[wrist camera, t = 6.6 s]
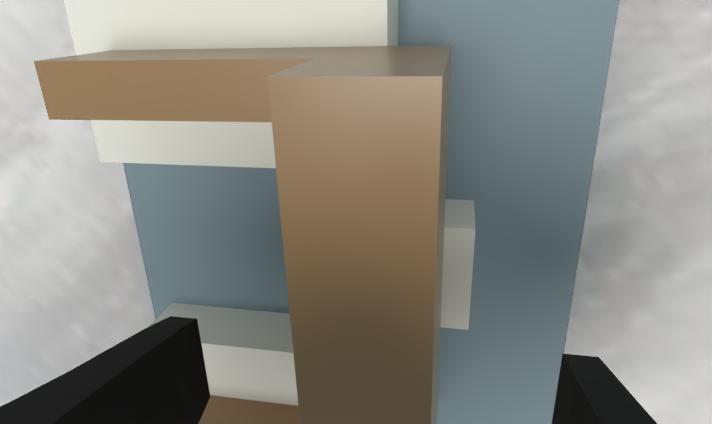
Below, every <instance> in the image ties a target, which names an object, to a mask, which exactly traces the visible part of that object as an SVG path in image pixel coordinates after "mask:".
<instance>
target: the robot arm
mask: <svg viewBox="0 0 712 424" xmlns="http://www.w3.org/2000/svg"><path fill="white" fill-rule="evenodd" d="M209 398H210V392H209V386H208V380H207V374H206V368H205V362H204V356H203V351H202V345H201V339H200V333H199V327H198V321H197V319H194V318H184V317H174V316H170V317H168V318H166V319H164V320H161V321H159V322H157V323H155V324H153V325H152V326H150V327H148V328H146V329H144V330H142V331H140V332H139V333H137V334H135V335H133V336H131V337H130V338H128V339H126V340H124V341H122V342H121V343H119V344H117V345H115V346H114V347H112V348H110V349H108V350H107V351H105V352H103V353H101V354H99V355H98V356H96V357H94V358H92V359H90V360H89V361H87V362H85V363H83V364H81V365H80V366H78V367H76V368H74V369H73V370H71V371H69V372H67V373H65V374H63V375H61V376H59V377H57V378H56V379H54V380H52V381H50V382H48V383H46V384H44V385H42V386H40V387H38V388H36V389H34V390H32V391H31V392H29V393H27V394H25V395H23V396H21V397H19V398H17V399H15V400H13V401H11V402H9V403H7V404H5V405H3V406H1V407H0V424H199V422H200V419H201V417H202V415H203V412H204V410H205V408H206V405H207V403H208V401H209ZM552 424H657V423H656V422H655V421H654V420H653V419H652V417H651V416H650V415H649V414H648V413H647V412H646V411H645V410H644V408H643V407H642V406H641V405H640V404H639V403H638V402H637V401H636V399H635V398H634V397H633V396H632V395H631V394H630V393H629V391H628V390H627V389H626V388H625V387H624V386H623V384H622V383H621V382H620V381H619V380H618V379H617V378H616V376H615V375H614V374H613V373H612V372H611V371H610V370H609V368H608V367H607V366H606V365H605V364H604V363H603V362H602V361H601V359H600V358H599V357H591V356H581V355H570V354H562V360H561V367H560V373H559V380H558V386H557V392H556V399H555V405H554V412H553V418H552Z"/></svg>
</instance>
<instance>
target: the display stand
mask: <svg viewBox="0 0 712 424" xmlns="http://www.w3.org/2000/svg"><path fill="white" fill-rule="evenodd" d="M64 4H65V9H66V13H67V18H68V22H69V26H70V31H71V35H72V40H73V44H74V48H75V53H76V55H82V54H89V53H96V52H103V51H110V50H167V49H230V48H293V47H355V46H418V45H452V47H451V73H450V98H449V123H448V149H447V174H446V200H445V225H444V250H443V276H442V301H441V327H440V352H439V377H438V403H437V424H552V418H553V412H554V405H555V399H556V392H557V386H558V380H559V373H560V367H561V360H562V354H563V352H564V346H565V339H566V333H567V327H568V320H569V314H570V308H571V301H572V295H573V289H574V282H575V276H576V270H577V263H578V257H579V251H580V244H581V238H582V232H583V226H584V219H585V213H586V207H587V200H588V194H589V188H590V181H591V175H592V169H593V162H594V156H595V150H596V143H597V137H598V131H599V124H600V118H601V112H602V105H603V99H604V93H605V86H606V80H607V74H608V67H609V61H610V55H611V48H612V42H613V36H614V29H615V23H616V17H617V10H618V4H619V0H64ZM91 124H92V128H93V132H94V137H95V141H96V146H97V150H98V155H99V159H100V162H114V163H123V165H124V170H125V174H126V179H127V184H128V189H129V193H130V198H131V203H132V208H133V213H134V217H135V222H136V227H137V232H138V237H139V241H140V246H141V251H142V256H143V261H144V265H145V270H146V275H147V280H148V285H149V289H150V294H151V299H152V304H153V309H154V313H155V318H156V320H155V321H154V322H153V323H152V324H151V325H150V326H152V325H153V324H155V323H157V322H159V321H161V320H164V319H166V318H168V317H170V316H174V317H184V318H194V319H197V321H198V327H199V333H200V339H201V345H202V351H203V356H204V362H205V368H206V374H207V380H208V386H209V392H210V395H214V396H222V397H230V398H238V399H246V400H254V401H262V402H271V403H279V404H287V405H295V406H298V396H297V386H296V375H295V365H294V354H293V343H292V333H291V322H290V311H289V301H288V290H287V279H286V269H285V258H284V247H283V237H282V226H281V215H280V205H279V194H278V184H277V173H276V162H275V152H274V141H273V130H272V122H210V121H135V120H91ZM150 326H149V327H150Z"/></svg>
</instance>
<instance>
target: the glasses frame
mask: <svg viewBox="0 0 712 424" xmlns="http://www.w3.org/2000/svg"><path fill="white" fill-rule="evenodd" d="M451 47H452V45H418V46H355V47H293V48H230V49H167V50H110V51H103V52H96V53H89V54H82V55H75V56H68V57H61V58H54V59H47V60H41V61H34V63H35V67H36V71H37V74H38V78H39V82H40V86H41V90H42V94H43V97H44V101H45V105H46V109H47V113H48V117H49V119H61V120H135V121H210V122H272V130H273V141H274V152H275V162H276V173H277V184H278V194H279V205H280V215H281V226H282V237H283V247H284V258H285V269H286V279H287V290H288V301H289V311H290V322H291V333H292V343H293V354H294V365H295V375H296V386H297V396H298V406H295V405H287V404H279V403H271V402H262V401H254V400H246V399H238V398H230V397H222V396H214V395H210V398H209V401H208V403H207V405H206V408H205V410H204V412H203V415H202V417H201V419H200V422H199V424H437V403H438V377H439V352H440V327H441V301H442V276H443V250H444V225H445V200H446V174H447V149H448V123H449V98H450V73H451Z"/></svg>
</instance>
